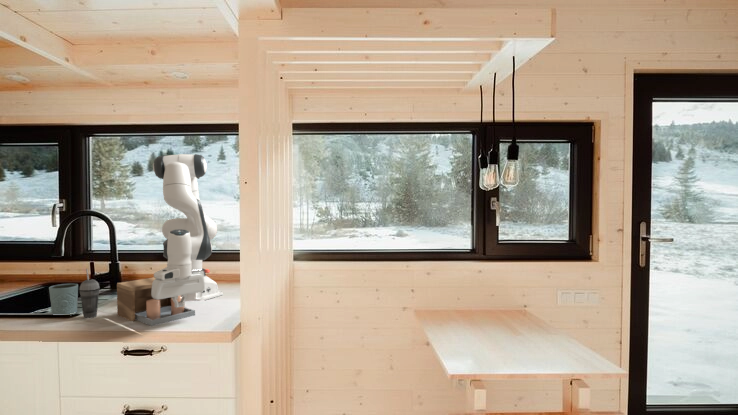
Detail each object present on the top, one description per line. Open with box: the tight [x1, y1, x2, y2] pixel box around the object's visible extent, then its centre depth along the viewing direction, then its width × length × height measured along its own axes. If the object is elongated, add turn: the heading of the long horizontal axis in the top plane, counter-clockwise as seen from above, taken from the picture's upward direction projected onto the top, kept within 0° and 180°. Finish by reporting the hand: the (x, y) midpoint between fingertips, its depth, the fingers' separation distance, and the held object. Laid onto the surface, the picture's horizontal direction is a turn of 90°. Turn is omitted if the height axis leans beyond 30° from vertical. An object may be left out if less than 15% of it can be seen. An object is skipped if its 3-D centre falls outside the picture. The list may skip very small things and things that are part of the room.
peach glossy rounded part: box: [171, 296, 184, 315], centre depth 178 cm, size 5×5×8 cm
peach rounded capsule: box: [145, 299, 161, 320], centre depth 170 cm, size 5×5×8 cm
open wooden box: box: [116, 276, 186, 322], centre depth 181 cm, size 22×13×14 cm, turn 143°
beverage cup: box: [78, 268, 101, 319], centre depth 176 cm, size 7×7×20 cm
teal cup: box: [48, 283, 79, 315], centre depth 180 cm, size 10×10×12 cm
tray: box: [135, 305, 196, 327], centre depth 175 cm, size 18×15×3 cm
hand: (179, 306), depth 167 cm, fingers closed
